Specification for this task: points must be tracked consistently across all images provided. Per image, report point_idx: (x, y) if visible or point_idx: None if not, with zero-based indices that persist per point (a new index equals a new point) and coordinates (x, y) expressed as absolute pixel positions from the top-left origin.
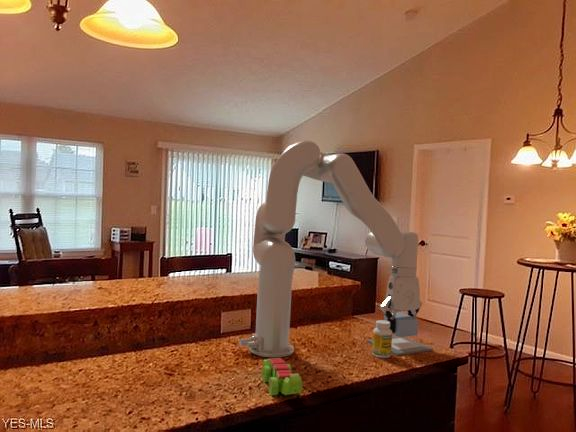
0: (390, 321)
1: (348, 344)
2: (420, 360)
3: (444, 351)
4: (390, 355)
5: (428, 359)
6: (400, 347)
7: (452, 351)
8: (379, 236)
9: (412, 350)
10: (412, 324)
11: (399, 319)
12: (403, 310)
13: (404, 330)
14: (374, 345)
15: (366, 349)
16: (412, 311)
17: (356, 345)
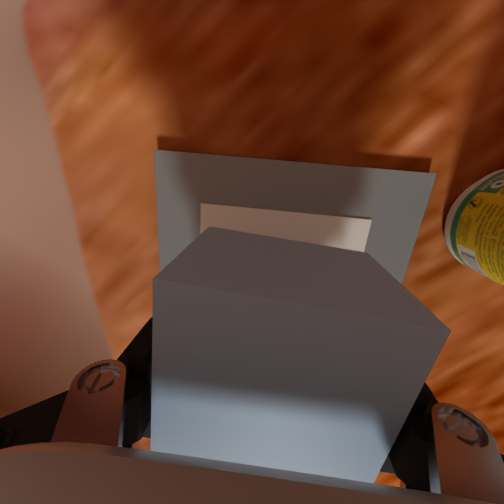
0: (434, 401)
1: (476, 393)
2: (380, 35)
3: (106, 104)
4: (491, 173)
5: (315, 26)
6: (324, 239)
7: (59, 82)
8: None
9: (301, 174)
10: (251, 267)
11: (418, 363)
12: (422, 498)
13: (339, 263)
14: None
15: (472, 314)
16: (114, 438)
17: (457, 370)
